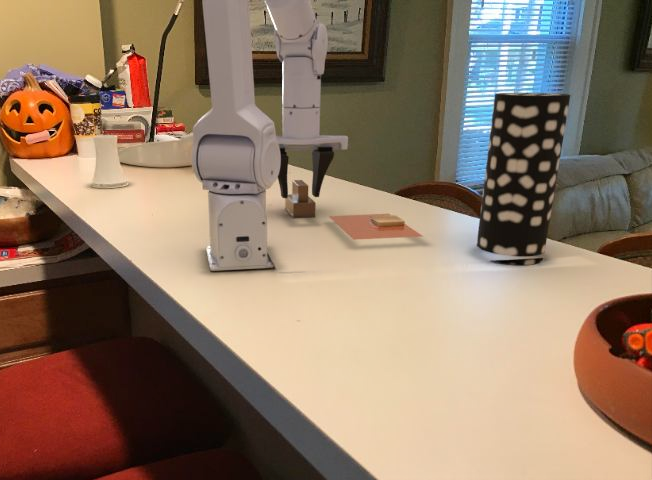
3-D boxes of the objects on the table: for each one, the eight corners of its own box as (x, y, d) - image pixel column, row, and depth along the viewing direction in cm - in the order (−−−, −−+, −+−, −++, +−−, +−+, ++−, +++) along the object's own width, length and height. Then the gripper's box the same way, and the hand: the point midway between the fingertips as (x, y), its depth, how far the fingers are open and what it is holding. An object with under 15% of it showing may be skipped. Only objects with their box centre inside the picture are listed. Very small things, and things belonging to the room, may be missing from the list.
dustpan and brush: (190, 154, 170) (189, 119, 167) (254, 170, 145) (254, 129, 142) (111, 161, 158) (108, 124, 155) (166, 180, 133) (163, 135, 129)
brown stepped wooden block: (315, 224, 95) (316, 186, 93) (293, 225, 95) (293, 187, 92) (305, 214, 102) (306, 178, 99) (285, 215, 101) (285, 179, 99)
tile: (422, 244, 84) (423, 236, 84) (353, 247, 83) (353, 239, 83) (388, 220, 97) (389, 213, 97) (328, 223, 96) (328, 215, 95)
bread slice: (404, 225, 89) (404, 221, 89) (378, 226, 89) (378, 222, 89) (395, 219, 93) (395, 214, 93) (370, 220, 93) (370, 215, 92)
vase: (85, 184, 128) (79, 135, 124) (118, 180, 132) (113, 133, 129) (101, 189, 122) (95, 138, 119) (134, 185, 127) (130, 136, 123)
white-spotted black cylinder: (500, 267, 75) (524, 96, 67) (463, 249, 82) (481, 93, 75) (557, 262, 77) (587, 95, 69) (516, 244, 84) (538, 92, 77)
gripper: (340, 105, 97) (337, 190, 101) (250, 106, 94) (251, 193, 99) (353, 107, 90) (349, 198, 95) (256, 109, 88) (257, 202, 93)
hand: (300, 196), depth 97 cm, fingers open, 4 cm apart
